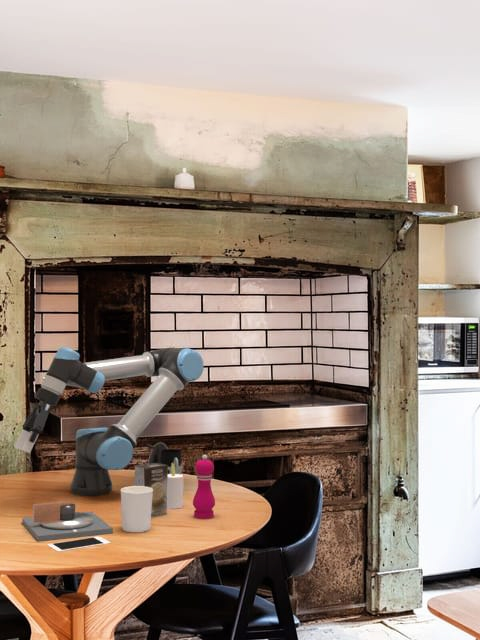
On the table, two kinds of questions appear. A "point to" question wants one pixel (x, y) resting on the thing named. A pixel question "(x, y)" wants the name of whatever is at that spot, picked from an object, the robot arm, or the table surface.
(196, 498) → the pepper mill
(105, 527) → the dial plate
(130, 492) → the candle holder
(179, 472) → the picture frame
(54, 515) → the dial
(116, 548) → the table surface
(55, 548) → the cell phone
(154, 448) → the pump dispenser
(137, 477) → the coffee box
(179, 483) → the candle
